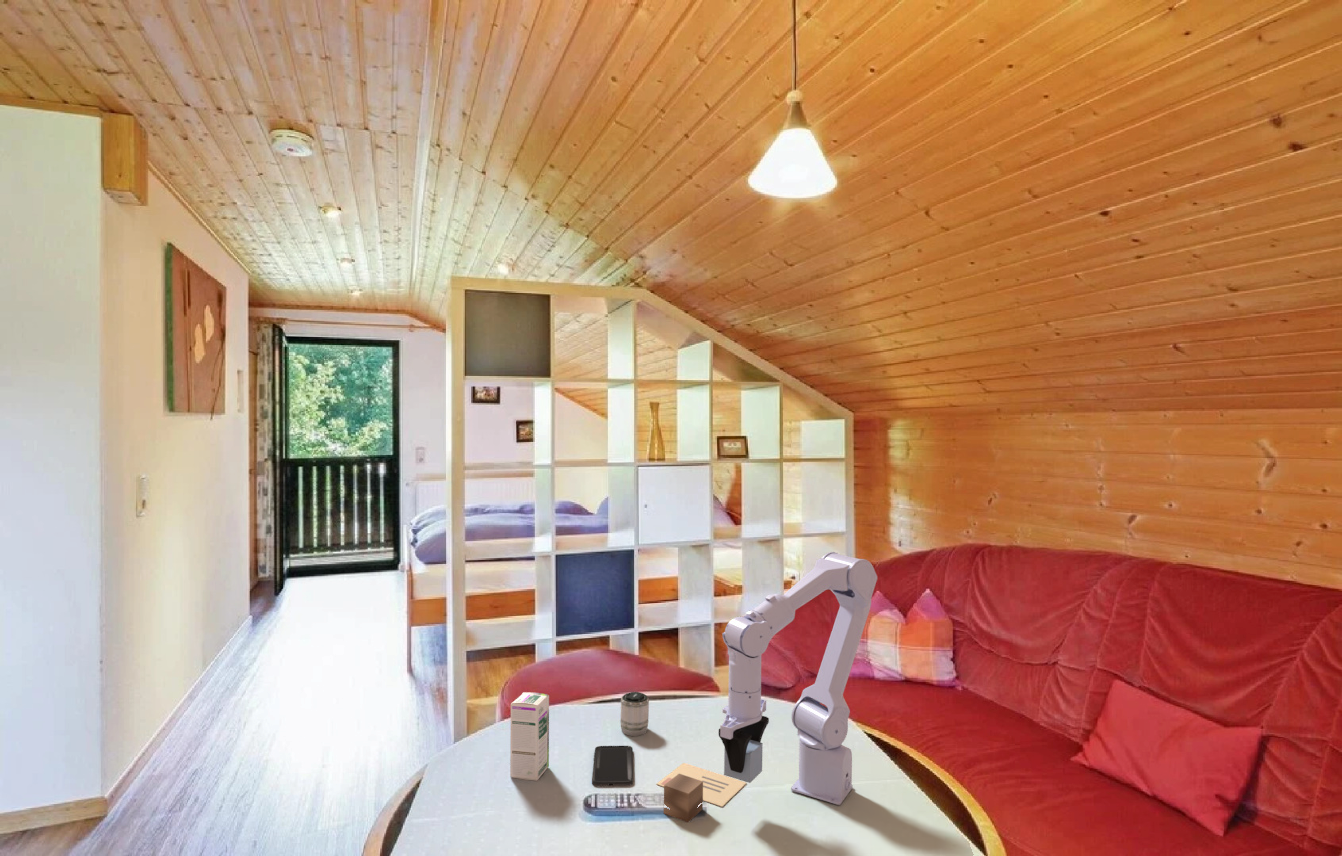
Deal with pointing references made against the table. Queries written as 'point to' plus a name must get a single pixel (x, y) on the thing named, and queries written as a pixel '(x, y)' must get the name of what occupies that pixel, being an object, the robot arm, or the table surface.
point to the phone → (613, 766)
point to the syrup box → (529, 736)
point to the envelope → (708, 783)
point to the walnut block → (683, 797)
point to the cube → (747, 763)
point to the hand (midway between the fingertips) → (743, 764)
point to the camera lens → (634, 713)
